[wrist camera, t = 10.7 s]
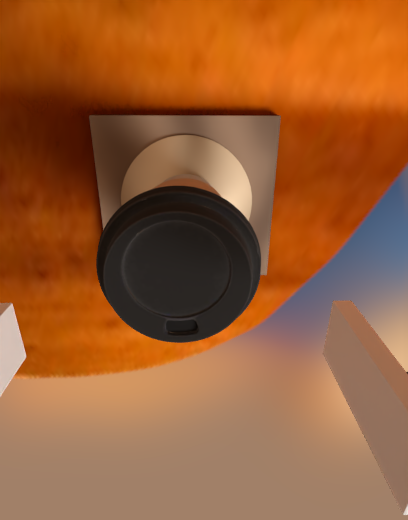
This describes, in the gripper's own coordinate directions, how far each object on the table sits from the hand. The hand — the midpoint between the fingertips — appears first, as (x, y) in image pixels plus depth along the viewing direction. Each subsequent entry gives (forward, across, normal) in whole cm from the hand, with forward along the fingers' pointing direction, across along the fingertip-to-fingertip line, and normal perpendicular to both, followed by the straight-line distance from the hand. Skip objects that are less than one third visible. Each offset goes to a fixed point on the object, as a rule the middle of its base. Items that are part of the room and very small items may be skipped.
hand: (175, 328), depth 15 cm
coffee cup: (+19, 0, 0) cm, 19 cm away
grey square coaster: (+21, 0, 0) cm, 21 cm away
